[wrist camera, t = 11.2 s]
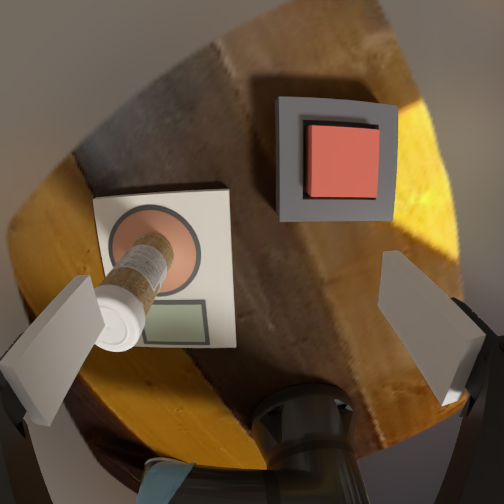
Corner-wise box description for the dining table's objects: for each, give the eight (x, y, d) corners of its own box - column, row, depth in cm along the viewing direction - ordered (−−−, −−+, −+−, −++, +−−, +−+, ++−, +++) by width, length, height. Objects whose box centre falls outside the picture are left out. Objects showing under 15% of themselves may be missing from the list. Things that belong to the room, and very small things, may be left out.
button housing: (378, 211, 32) (392, 220, 29) (275, 212, 32) (279, 221, 28) (382, 107, 28) (397, 105, 25) (274, 100, 28) (278, 96, 25)
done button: (364, 191, 29) (376, 197, 27) (304, 190, 29) (311, 196, 26) (366, 129, 27) (379, 129, 24) (304, 125, 27) (311, 125, 24)
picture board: (236, 342, 37) (236, 348, 36) (124, 341, 37) (122, 346, 36) (229, 188, 31) (228, 190, 30) (96, 197, 30) (92, 199, 29)
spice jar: (151, 281, 33) (108, 363, 20) (124, 247, 31) (64, 316, 19) (184, 258, 32) (152, 338, 19) (157, 222, 31) (105, 284, 18)
